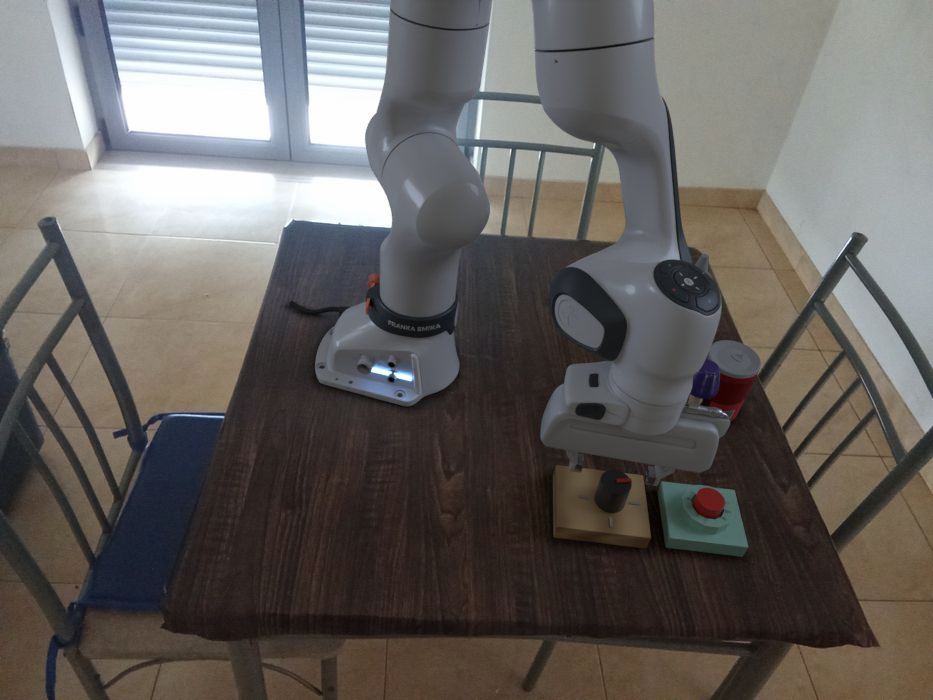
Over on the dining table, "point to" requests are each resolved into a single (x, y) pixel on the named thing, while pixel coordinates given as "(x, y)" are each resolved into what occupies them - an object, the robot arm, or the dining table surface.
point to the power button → (709, 502)
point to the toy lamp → (705, 382)
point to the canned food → (732, 375)
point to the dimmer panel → (597, 510)
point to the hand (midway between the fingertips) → (612, 474)
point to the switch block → (700, 521)
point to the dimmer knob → (612, 491)
